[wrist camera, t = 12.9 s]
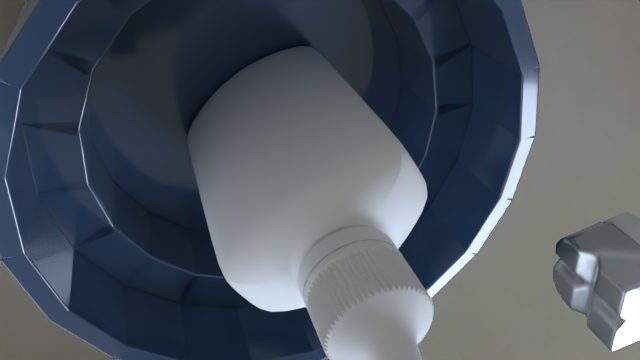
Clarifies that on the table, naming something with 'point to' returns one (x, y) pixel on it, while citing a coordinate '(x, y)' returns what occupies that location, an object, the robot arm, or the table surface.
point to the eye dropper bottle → (313, 204)
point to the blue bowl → (176, 166)
